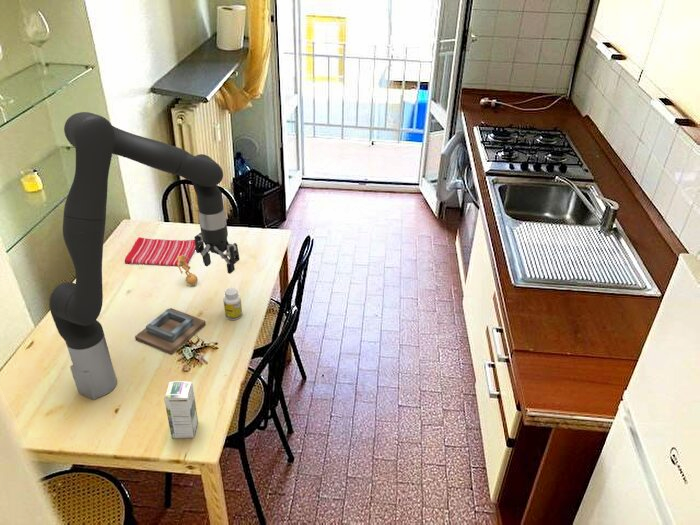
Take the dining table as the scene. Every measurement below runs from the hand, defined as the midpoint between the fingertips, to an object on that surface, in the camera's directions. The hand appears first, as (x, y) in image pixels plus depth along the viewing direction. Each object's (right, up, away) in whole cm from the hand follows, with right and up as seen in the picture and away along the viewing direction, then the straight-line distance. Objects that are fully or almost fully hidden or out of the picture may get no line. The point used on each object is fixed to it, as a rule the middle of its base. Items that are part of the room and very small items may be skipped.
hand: (219, 268), depth 173 cm
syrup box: (-2, -41, -28) cm, 50 cm away
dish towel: (-31, +5, +42) cm, 53 cm away
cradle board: (-16, -20, +4) cm, 26 cm away
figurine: (-16, -6, +26) cm, 31 cm away
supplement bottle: (+2, -16, +12) cm, 20 cm away
